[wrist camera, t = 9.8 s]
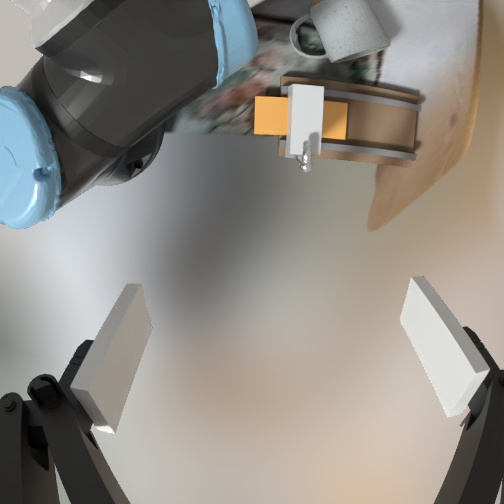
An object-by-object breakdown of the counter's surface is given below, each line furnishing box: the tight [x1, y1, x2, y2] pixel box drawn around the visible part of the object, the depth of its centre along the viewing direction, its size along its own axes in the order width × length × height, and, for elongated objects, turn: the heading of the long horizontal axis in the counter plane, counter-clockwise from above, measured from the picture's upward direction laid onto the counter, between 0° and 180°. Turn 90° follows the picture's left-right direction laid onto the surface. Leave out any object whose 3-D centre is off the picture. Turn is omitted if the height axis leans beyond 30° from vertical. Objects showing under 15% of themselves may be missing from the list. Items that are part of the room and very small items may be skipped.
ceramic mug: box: [289, 0, 390, 63], centre depth 28 cm, size 11×8×8 cm
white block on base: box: [254, 84, 348, 156], centre depth 31 cm, size 11×7×8 cm, turn 89°
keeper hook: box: [285, 140, 313, 172], centre depth 32 cm, size 2×3×10 cm
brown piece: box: [278, 76, 421, 168], centre depth 35 cm, size 18×10×3 cm, turn 89°
